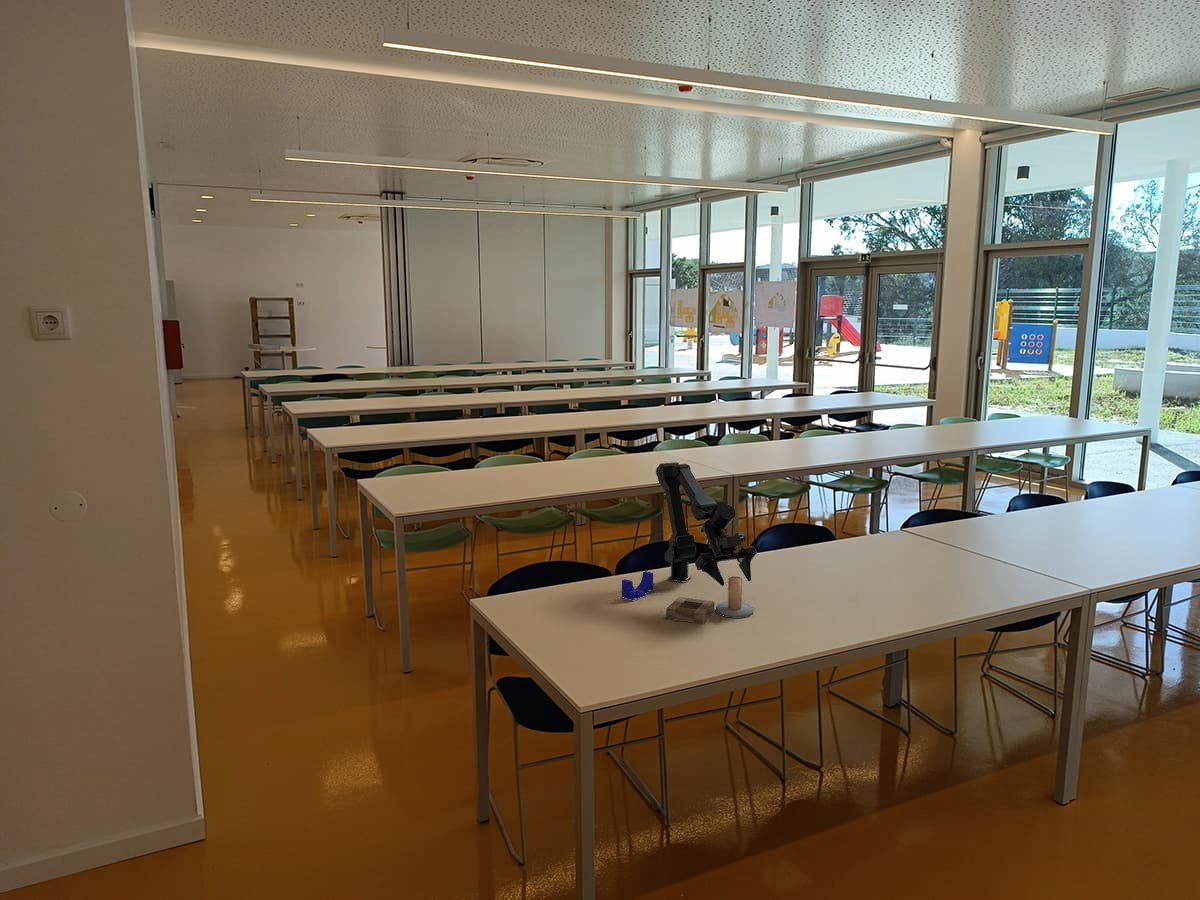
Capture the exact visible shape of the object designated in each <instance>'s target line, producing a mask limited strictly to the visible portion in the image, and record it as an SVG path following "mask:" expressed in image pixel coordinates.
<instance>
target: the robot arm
mask: <svg viewBox="0 0 1200 900" xmlns="http://www.w3.org/2000/svg"><path fill="white" fill-rule="evenodd" d="M691 469H692V468H691V466H690V465H689V464H687V463H681V464H680V463H679V462H677V461H675V462H666V463H665V462H664V463H663V462H662V463H659V464H658V466H657V467H656V468H655V475H656V477H657V480H658V484H659V485H660V486H661V487H662V488H663V490H664V492H665V497H666V503H667V504H666V506H667V510H668V515H669V521H670V528H671V536H670V538H669V540H668V549H667V550H666V551H665V553H664V561H665V562H667V563H669V564H670V576H669V577H668V578H667V579H668V580H667V581H670V580H677V581H687V580H686V579H687V578H688V575H689V562H695V564H694V565H695V568H696V570H698V571H701V572H702V573H706V574H707V575H709V576H710V577H711V578H712V579H713V580H715V581H716V582H717V583H718V584H719V585H721V586H722V587H724V586H725V581H724V578H723V576H722V574H721V572H720V569H719V565H718V562H719V563H720V562H725V561H731V560H736V561H737V563H739V564H738V567H739V568H740V570H741V572H742V573H743V576H744V577H745V579H747V581H748V582H751V580H752V573H751V572H752V571H751V565H752V564H751V562H752V560H753V559H754V558H755V556H756V555H757V554H758V552H757V549H756V547H755V546H753V545H750V546H743V543H745V542H746V541H747V539H746V536H745V534H744V532H743V531H740V532H735V533H734V534H733V535H730V534H727V533H726V531H725V530H726V529H727V528H728V527H729V525H730V524H731V523H732V521H733V520H734V519H735V517H736V514H737V513H736V510H735V508H733V506H731V505H730V504H728V503H726V501H725V500H721V501H719V500H718V502H716V500H714V498H713V497H712V496H711V495H708V494H707V493H706V492H704V490H703V488H702V487H701V485H700V484H699V482H698V481H697V479H696V477H695V475H694V474H693V472H692V471H691ZM680 487H682V488H683V490H684V492H685V494H686V495H687V497H688V499H689V500H690V503H691V504H690V505H691V506H690V510H691V513H692V515H693V517H694V519H695V520H696V521H699V522H700V521H701V522H702V521H705V522H704V523H702V524H701V528H700V533H702V534H703V533H704V534H705V536H706V539H707V541H708V545H707V547H708V549H711V550H712V551H709V552H701V553H700V554H699V556H698V557H697V558H696V559H695V557H696V554H697V545H696V542H695V536H694V534H690V533H689V531H688V529H687V523H686V518H685V517H686V516H685V512H684V505H683V500H682V493H681V489H680ZM739 546H743V547H741V548H740V549H739V551H737V549H738V547H739ZM734 551H737V552H734ZM677 581H676V582H677ZM687 582H688V581H687Z"/></svg>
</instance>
